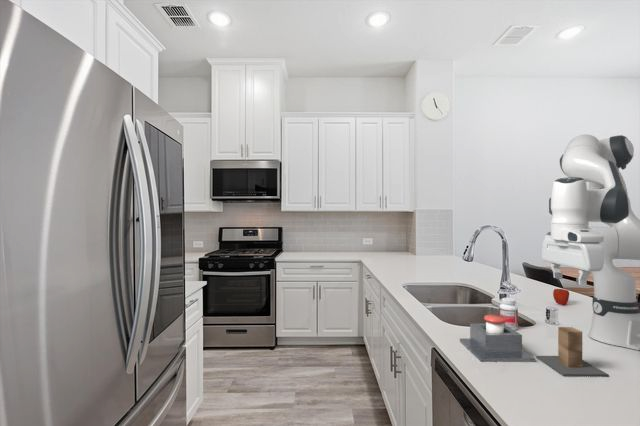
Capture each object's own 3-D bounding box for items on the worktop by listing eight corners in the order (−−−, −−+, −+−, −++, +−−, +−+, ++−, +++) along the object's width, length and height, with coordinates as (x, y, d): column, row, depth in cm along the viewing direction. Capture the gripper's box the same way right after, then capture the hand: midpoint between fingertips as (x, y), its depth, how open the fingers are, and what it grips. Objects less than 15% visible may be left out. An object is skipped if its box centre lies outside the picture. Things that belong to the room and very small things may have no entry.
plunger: (499, 342, 113) (499, 314, 113) (509, 349, 107) (509, 320, 107) (481, 342, 113) (481, 314, 113) (489, 349, 107) (489, 320, 107)
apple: (551, 304, 165) (551, 288, 165) (555, 302, 169) (555, 286, 169) (567, 307, 161) (567, 291, 161) (570, 304, 165) (570, 289, 165)
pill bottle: (507, 324, 136) (507, 296, 136) (521, 329, 130) (521, 300, 130) (495, 326, 134) (495, 297, 133) (509, 331, 128) (509, 301, 128)
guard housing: (506, 341, 118) (506, 321, 118) (535, 361, 102) (535, 338, 102) (459, 341, 118) (459, 321, 118) (480, 361, 102) (480, 338, 102)
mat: (575, 357, 105) (575, 355, 105) (608, 376, 93) (608, 374, 93) (536, 357, 105) (536, 355, 105) (563, 376, 93) (563, 374, 93)
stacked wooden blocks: (572, 361, 101) (572, 327, 101) (582, 367, 97) (582, 331, 97) (558, 361, 101) (558, 327, 101) (568, 367, 97) (568, 331, 97)
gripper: (535, 231, 109) (535, 275, 110) (584, 236, 89) (584, 290, 89) (555, 231, 109) (555, 274, 110) (609, 236, 89) (609, 289, 89)
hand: (569, 281), depth 99 cm, fingers open, 8 cm apart
